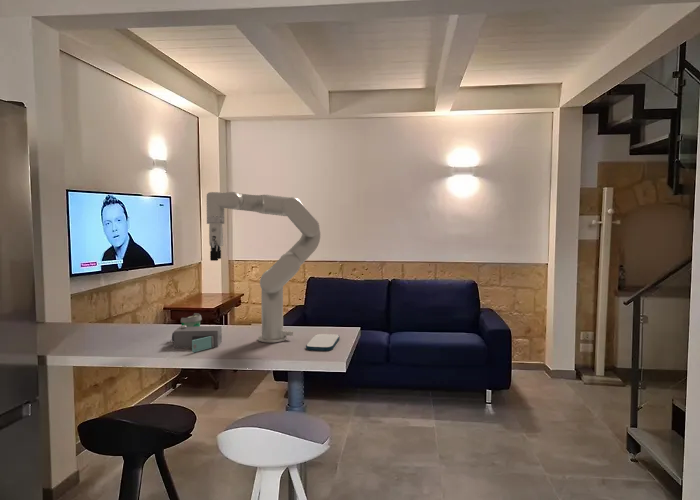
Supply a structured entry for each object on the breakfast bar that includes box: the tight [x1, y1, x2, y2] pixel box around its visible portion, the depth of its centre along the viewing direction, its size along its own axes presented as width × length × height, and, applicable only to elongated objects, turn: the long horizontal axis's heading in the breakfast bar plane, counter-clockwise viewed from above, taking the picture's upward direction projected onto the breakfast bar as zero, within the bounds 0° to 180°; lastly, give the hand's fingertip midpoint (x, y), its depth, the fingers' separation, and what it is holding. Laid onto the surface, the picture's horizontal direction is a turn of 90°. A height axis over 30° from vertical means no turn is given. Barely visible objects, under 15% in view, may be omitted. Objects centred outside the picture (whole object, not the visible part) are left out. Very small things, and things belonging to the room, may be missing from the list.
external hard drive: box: [305, 333, 341, 352], centre depth 218 cm, size 24×12×2 cm, turn 172°
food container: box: [180, 312, 203, 327], centre depth 229 cm, size 12×6×10 cm, turn 168°
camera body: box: [171, 324, 223, 349], centre depth 215 cm, size 20×10×8 cm, turn 94°
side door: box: [191, 336, 215, 353], centre depth 206 cm, size 10×2×5 cm, turn 144°
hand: (215, 259), depth 220 cm, fingers open, 9 cm apart
